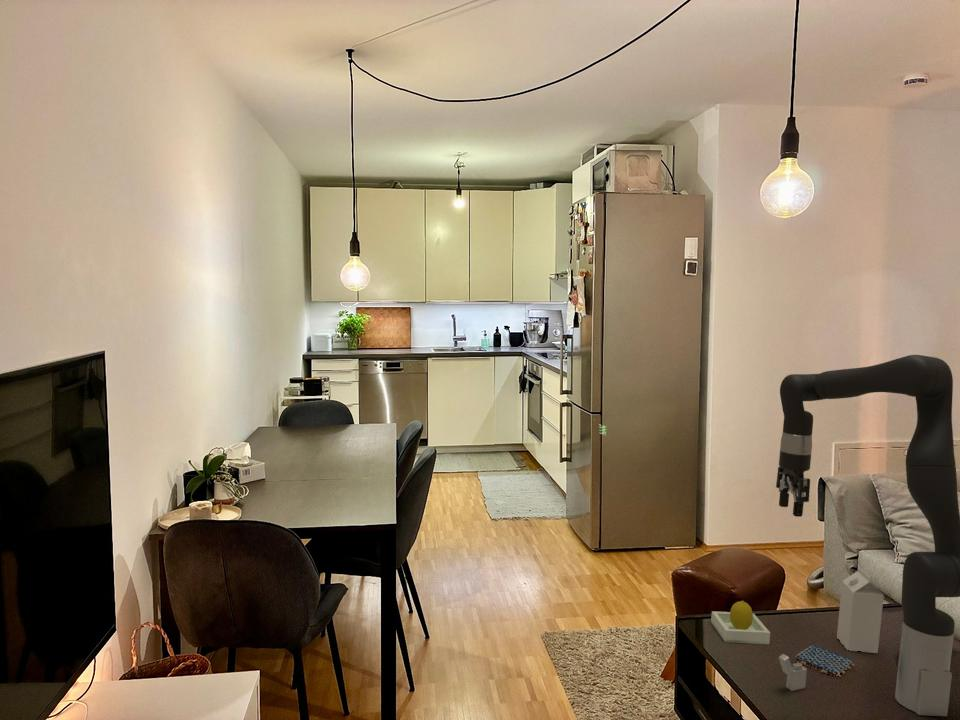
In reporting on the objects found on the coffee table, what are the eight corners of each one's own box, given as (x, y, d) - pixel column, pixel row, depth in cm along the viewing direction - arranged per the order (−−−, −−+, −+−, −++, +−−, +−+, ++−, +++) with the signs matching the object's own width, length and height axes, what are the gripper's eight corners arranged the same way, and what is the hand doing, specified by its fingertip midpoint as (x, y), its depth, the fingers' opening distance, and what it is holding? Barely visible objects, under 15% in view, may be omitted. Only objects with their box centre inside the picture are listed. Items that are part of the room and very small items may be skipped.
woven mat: (791, 663, 172) (792, 655, 172) (811, 650, 179) (811, 642, 179) (837, 682, 164) (837, 673, 164) (855, 667, 171) (856, 659, 171)
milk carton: (865, 640, 185) (872, 568, 183) (877, 654, 178) (885, 579, 176) (836, 638, 186) (843, 565, 184) (847, 651, 178) (855, 576, 177)
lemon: (723, 628, 186) (726, 598, 186) (740, 625, 189) (742, 595, 188) (740, 637, 181) (742, 606, 181) (756, 634, 184) (759, 603, 183)
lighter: (799, 683, 162) (802, 649, 161) (805, 687, 160) (809, 653, 159) (775, 689, 159) (778, 654, 158) (781, 693, 157) (784, 657, 157)
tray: (769, 644, 180) (770, 632, 180) (724, 642, 180) (725, 630, 180) (752, 624, 191) (753, 613, 191) (710, 622, 191) (711, 611, 191)
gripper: (823, 457, 182) (817, 520, 184) (797, 445, 196) (792, 504, 198) (793, 455, 182) (787, 519, 184) (770, 444, 196) (765, 502, 198)
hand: (790, 511), depth 191 cm, fingers open, 8 cm apart
